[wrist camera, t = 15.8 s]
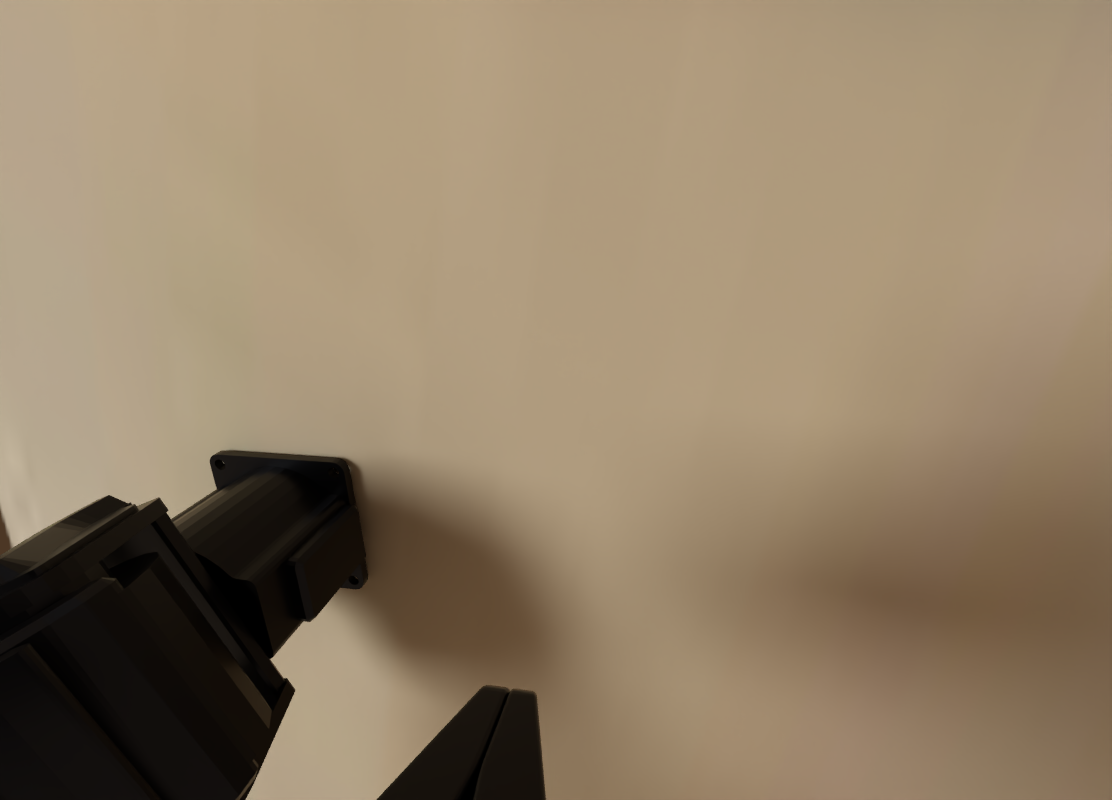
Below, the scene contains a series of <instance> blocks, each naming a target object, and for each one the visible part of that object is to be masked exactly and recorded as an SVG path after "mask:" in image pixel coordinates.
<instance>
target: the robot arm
mask: <svg viewBox="0 0 1112 800" xmlns="http://www.w3.org/2000/svg"><path fill="white" fill-rule="evenodd" d="M222 461H223V462H224V463H223V462H222ZM210 465H211V469H212V473H213V476H214V480H215V484H216V487H217V490H215V491H213V492H212V493H210V494H209V495H207V496H206V497H204V498H203V499H201V500H200V501H198V502H197V503H195V504H194V505H192V506H191V507H189V508H188V509H186V510H184V511H183V512H181V513H180V514H178V515H177V516H175V517H174V518H172V519H170V517H169V516H168V514H167V513H166V512H167V511H168V509H167V508H166V506H165V505H164V503H163V502H162V500H161V499H160V498H156V499H154V500H151V501H149V502H146V503H144V504H141V505H139V506H136V505H135V504H133V505H132V504H131V502H130V503H126V502H123V501H121V500H119V499H117V498H114V497H112V496H110V495H108V496H106V497H103V498H101V499H99V500H96V501H95V502H93V503H91V504H89V505H87V506H85V507H83V508H82V509H80V510H78V511H76V512H74V513H72V514H70V515H68V516H67V517H65V518H63V519H61V520H59V521H57V522H56V523H54V524H52V525H50V526H48V527H47V528H45V529H43V530H41V531H40V532H38V533H36V534H34V535H33V536H31V537H29V538H28V539H26V540H25V541H23V542H21V543H20V544H18V545H17V546H15V547H13V548H12V549H10V550H9V551H7V552H5V553H4V554H2V555H0V800H245V799H246V797H247V795H248V794H249V792H250V790H251V788H252V786H253V784H254V782H255V779H256V777H257V775H258V773H259V770H260V768H261V766H262V764H263V762H264V759H265V757H266V755H267V753H268V750H269V748H270V746H271V744H272V741H273V739H274V737H275V735H276V733H277V730H278V728H279V726H280V724H281V721H282V719H283V717H284V715H285V713H286V710H287V708H288V706H289V704H290V701H291V699H292V697H293V695H294V692H295V689H294V687H293V686H292V685H291V683H290V682H289V680H288V679H287V678H285V679H284V678H283V677H282V675H281V674H280V673H279V671H278V670H277V668H276V667H275V666H274V664H273V663H272V661H271V660H270V659H271V658H272V657H273V656H274V655H275V654H276V653H277V652H278V650H279V649H280V648H281V647H282V646H283V645H284V643H285V642H286V641H287V640H288V639H289V637H290V636H291V635H292V634H293V633H294V632H295V630H296V629H297V628H298V627H299V626H300V625H301V623H302V622H303V621H307V622H311V621H312V620H313V619H314V618H315V617H316V616H317V615H318V614H319V613H320V611H321V610H322V609H323V608H324V607H325V605H326V604H327V603H328V602H329V600H330V599H331V598H332V597H333V596H334V594H335V593H336V592H337V591H338V590H339V588H349V589H360V588H362V586H363V585H364V584H365V583H366V581H367V580H368V573H367V567H366V562H365V556H366V554H365V548H364V542H363V537H362V531H361V525H360V519H359V513H358V510H357V508H356V504H355V498H354V492H353V487H352V481H351V475H350V469H349V467H348V465H347V463H346V462H345V461H343V460H342V459H339V458H328V457H313V456H298V455H283V454H268V453H253V452H239V451H220V452H218V453H216V454H215V455H213V456H212V457H211V459H210ZM333 468H336V469H337V470H338V472H339V474H338V473H336V472H335V471H334V469H333ZM354 576H355V577H357V578H358V579H356V578H355V577H354ZM377 800H546V796H545V784H544V773H543V761H542V750H541V738H540V727H539V716H538V704H537V695H536V693H535V692H533V691H527V690H520V689H512V690H511V691H510V690H509V689H508V688H506V687H499V686H492V685H486V686H483V687H482V688H481V689H480V690H479V691H478V692H477V693H476V694H475V695H474V696H473V697H472V698H471V699H470V700H469V701H468V703H467V704H466V705H465V706H464V707H463V708H462V709H461V710H460V711H459V712H458V713H457V714H456V715H455V716H454V717H453V719H452V720H451V721H450V722H449V723H448V724H447V725H446V726H445V727H444V728H443V729H442V730H441V731H440V732H439V733H438V735H437V736H436V737H435V738H434V739H433V740H432V741H431V742H430V743H429V744H428V745H427V746H426V747H425V748H424V750H423V751H422V752H421V753H420V754H419V755H418V756H417V757H416V758H415V759H414V760H413V761H412V762H411V763H410V764H409V766H408V767H407V768H406V769H405V770H404V771H403V772H402V773H401V774H400V775H399V776H398V777H397V778H396V779H395V781H394V782H393V783H392V784H391V785H390V786H389V787H388V788H387V789H386V790H385V791H384V792H383V793H382V794H381V795H380V797H379V798H378V799H377Z"/></svg>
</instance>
